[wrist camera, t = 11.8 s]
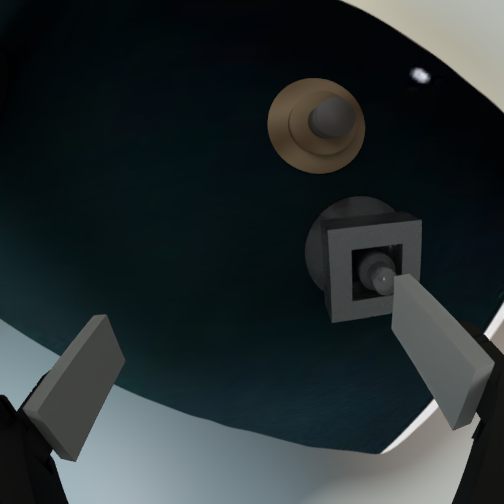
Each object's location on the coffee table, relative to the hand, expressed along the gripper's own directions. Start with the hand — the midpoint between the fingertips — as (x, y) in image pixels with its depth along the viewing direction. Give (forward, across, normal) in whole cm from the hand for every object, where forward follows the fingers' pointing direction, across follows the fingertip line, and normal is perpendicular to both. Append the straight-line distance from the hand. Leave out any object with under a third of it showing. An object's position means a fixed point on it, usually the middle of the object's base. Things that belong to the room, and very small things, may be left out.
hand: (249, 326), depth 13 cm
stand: (+21, +8, +8) cm, 24 cm away
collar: (+18, +11, -5) cm, 21 cm away
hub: (+21, +11, -5) cm, 24 cm away
